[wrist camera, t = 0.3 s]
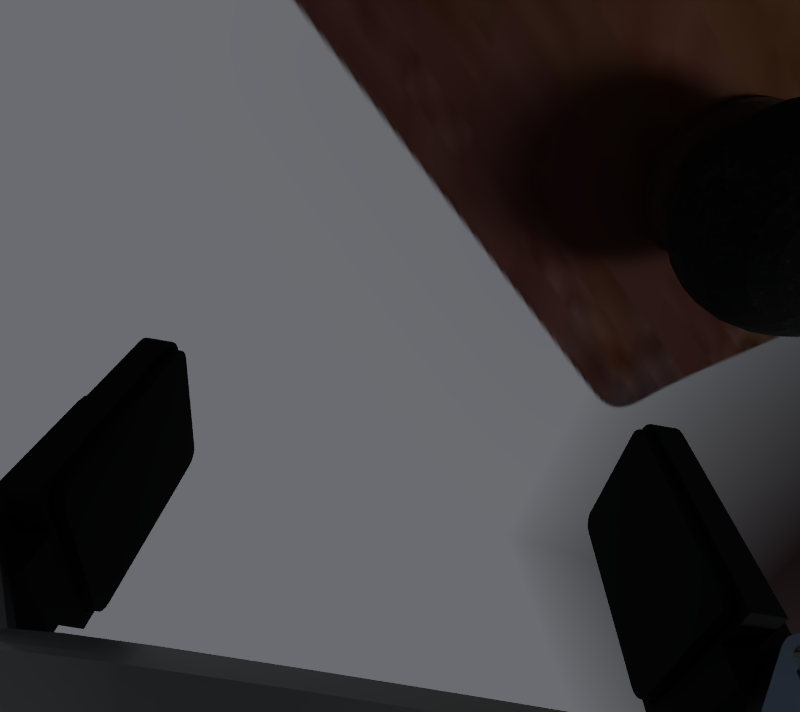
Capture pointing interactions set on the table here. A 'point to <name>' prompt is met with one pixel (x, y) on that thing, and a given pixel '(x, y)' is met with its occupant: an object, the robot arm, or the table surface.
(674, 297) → the table surface
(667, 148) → the dark rounded object
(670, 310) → the table surface
